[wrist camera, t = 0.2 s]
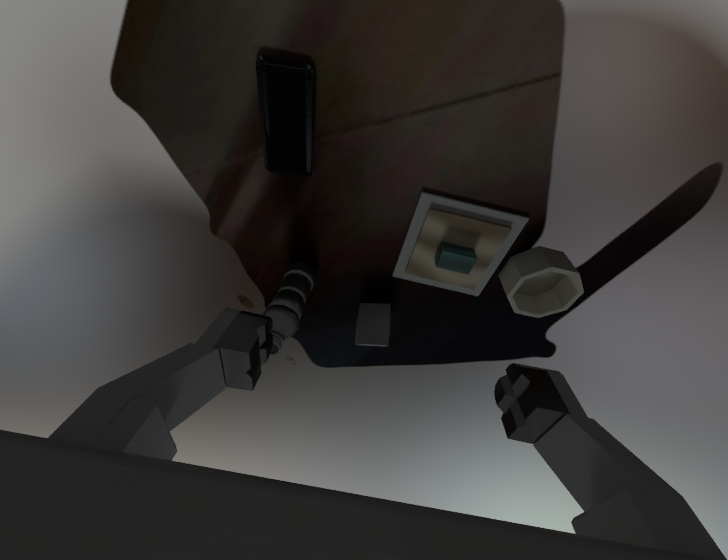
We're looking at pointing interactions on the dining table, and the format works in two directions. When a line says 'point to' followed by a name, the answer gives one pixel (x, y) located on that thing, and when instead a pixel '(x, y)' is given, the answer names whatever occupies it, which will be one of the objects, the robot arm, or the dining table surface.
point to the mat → (464, 209)
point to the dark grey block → (373, 324)
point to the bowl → (540, 282)
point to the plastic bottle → (290, 302)
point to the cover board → (459, 236)
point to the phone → (287, 115)
